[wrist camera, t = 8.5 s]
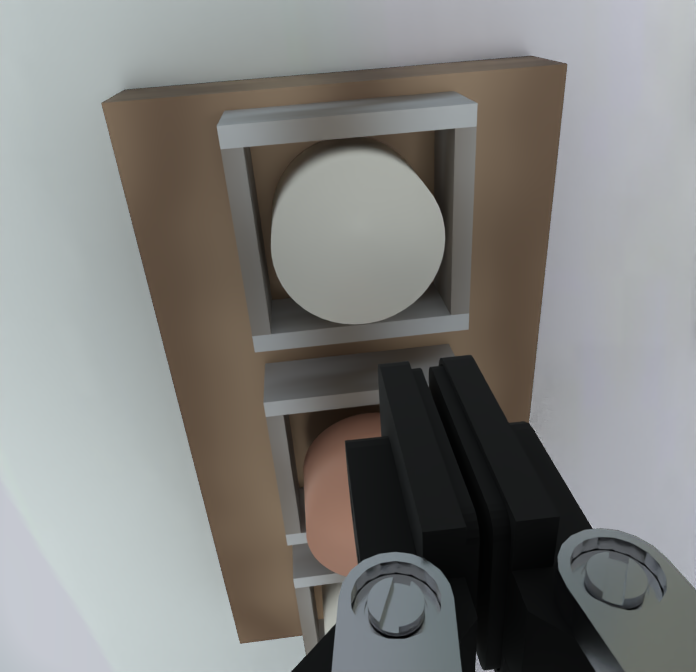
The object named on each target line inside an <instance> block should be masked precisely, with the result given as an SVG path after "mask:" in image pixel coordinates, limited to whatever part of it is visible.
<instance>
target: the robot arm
mask: <svg viewBox="0 0 696 672" xmlns="http://www.w3.org/2000/svg"><path fill="white" fill-rule="evenodd" d="M378 385H379V404H380V422H381V437H373V438H363V439H354V440H345V452H346V463H347V474H348V484H349V494H350V504H351V513H352V521H353V530H354V538H355V546H356V554H357V562H358V565H357V566H355V567H354V568H353V569H351V571H350V572H349V574H348V575H347V577H346V578H345V579H344V581H343V582H342V586H341V590H340V593H339V597H338V607H337V618H336V624H335V625H334V626H333V627H332V628H331V629H330V630H329V631H328V632H327V633H326V635H325V636H324V637H323V638H322V639H321V640H320V641H319V642H318V643H317V644H316V645H315V647H314V648H313V649H312V650H311V651H310V652H309V653H308V654H307V655H306V656H305V657H304V658H303V660H302V661H301V662H300V663H299V664H298V665H297V666H296V667H295V668H294V669H293V670H292V672H475V662H476V652H477V655H478V659H479V662H480V665H481V667H482V669H483V670H490V669H494V671H495V672H696V589H695V588H694V587H693V586H692V585H691V584H690V583H689V582H688V581H687V579H686V578H685V577H684V576H683V575H682V574H681V573H680V572H679V571H678V570H677V568H676V567H675V566H674V565H673V564H672V563H671V562H670V561H669V560H668V559H667V558H666V557H665V556H664V555H663V554H662V553H661V552H660V551H658V550H657V549H656V548H655V547H654V546H653V545H651V544H649V543H647V542H646V541H644V540H642V539H640V538H638V537H637V536H634V535H631V534H628V533H625V532H622V531H619V530H612V529H603V528H598V529H592V527H591V525H590V524H589V522H588V520H587V519H586V517H585V515H584V514H583V512H582V510H581V509H580V507H579V505H578V504H577V502H576V500H575V499H574V497H573V495H572V494H571V492H570V490H569V488H568V487H567V485H566V483H565V482H564V480H563V478H562V477H561V475H560V473H559V472H558V470H557V468H556V467H555V465H554V463H553V462H552V460H551V458H550V457H549V455H548V453H547V452H546V450H545V448H544V447H543V445H542V443H541V441H540V440H539V438H538V436H537V435H536V433H535V431H534V430H533V428H532V427H531V426H530V424H529V423H527V422H525V421H521V422H512V423H509V422H508V420H507V418H506V417H505V415H504V413H503V411H502V409H501V407H500V406H499V404H498V402H497V400H496V398H495V396H494V395H493V393H492V391H491V389H490V387H489V385H488V384H487V382H486V380H485V378H484V376H483V374H482V373H481V371H480V369H479V367H478V365H477V363H476V362H475V360H474V358H473V357H472V355H463V356H453V357H443V358H440V360H439V366H433V367H430V368H429V387H428V384H427V381H426V379H425V376H424V373H423V371H422V369H421V368H414V369H411V366H410V363H409V361H404V362H395V363H385V364H378Z"/></svg>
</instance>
